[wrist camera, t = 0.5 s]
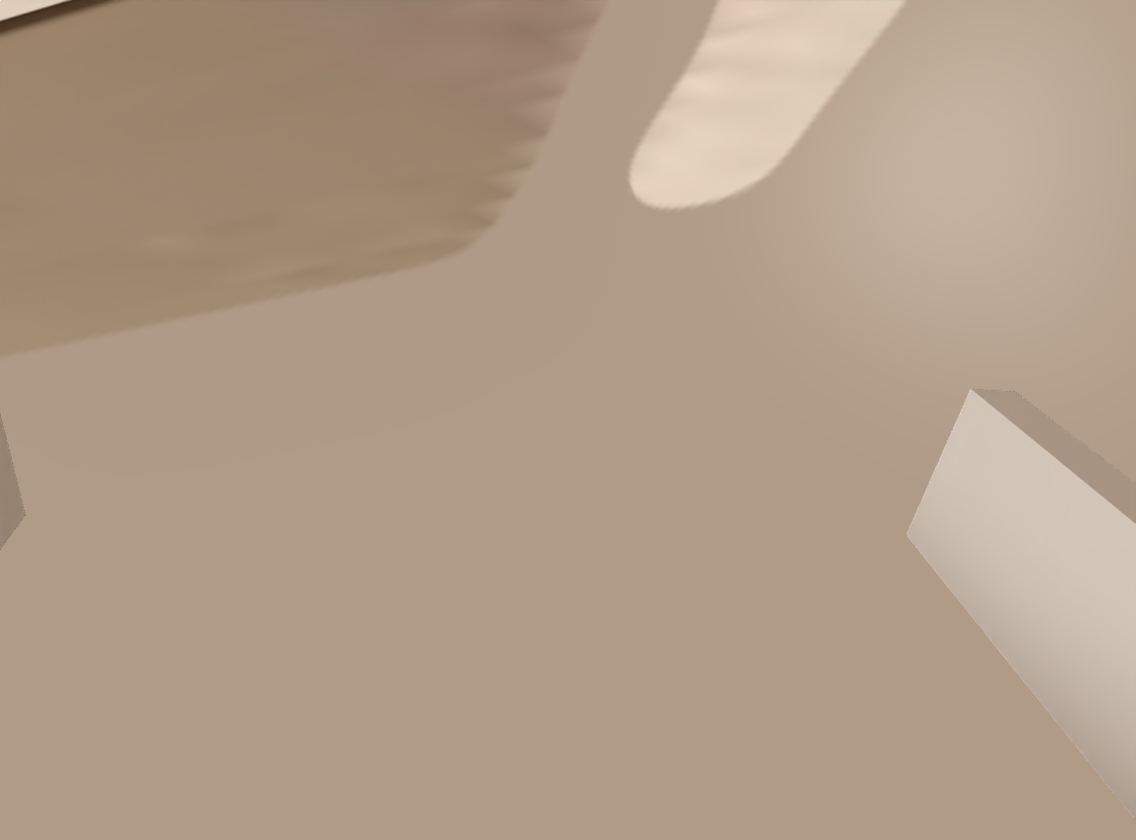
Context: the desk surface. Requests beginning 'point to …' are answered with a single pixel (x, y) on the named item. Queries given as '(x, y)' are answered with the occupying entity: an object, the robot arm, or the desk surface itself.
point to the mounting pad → (24, 7)
